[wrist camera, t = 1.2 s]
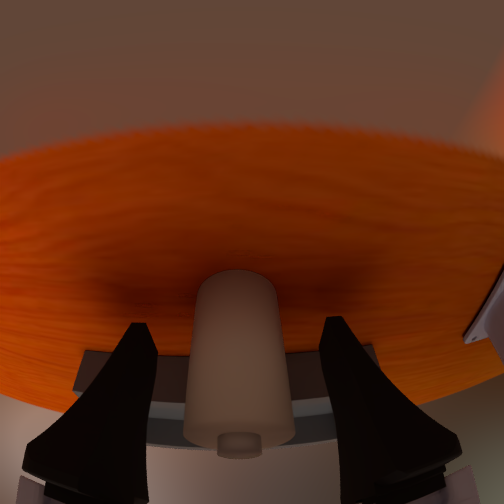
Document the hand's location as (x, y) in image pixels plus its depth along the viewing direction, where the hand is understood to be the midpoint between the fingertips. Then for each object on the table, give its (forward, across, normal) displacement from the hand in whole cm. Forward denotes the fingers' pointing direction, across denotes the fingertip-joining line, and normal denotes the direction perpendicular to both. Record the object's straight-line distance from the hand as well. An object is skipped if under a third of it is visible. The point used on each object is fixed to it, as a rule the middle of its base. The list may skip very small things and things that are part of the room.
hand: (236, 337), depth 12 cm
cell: (+2, 0, 0) cm, 2 cm away
